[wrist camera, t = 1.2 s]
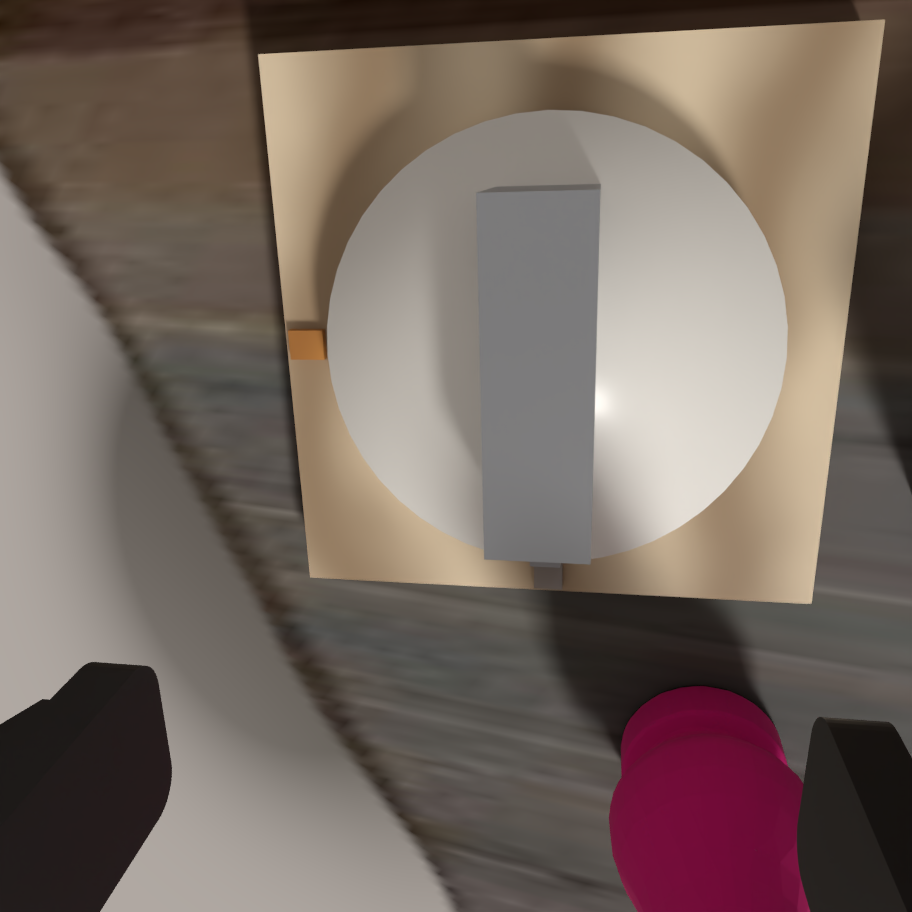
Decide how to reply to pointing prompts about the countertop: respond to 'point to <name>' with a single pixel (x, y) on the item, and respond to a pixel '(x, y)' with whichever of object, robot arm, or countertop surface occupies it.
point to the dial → (557, 336)
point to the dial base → (642, 102)
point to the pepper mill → (706, 808)
